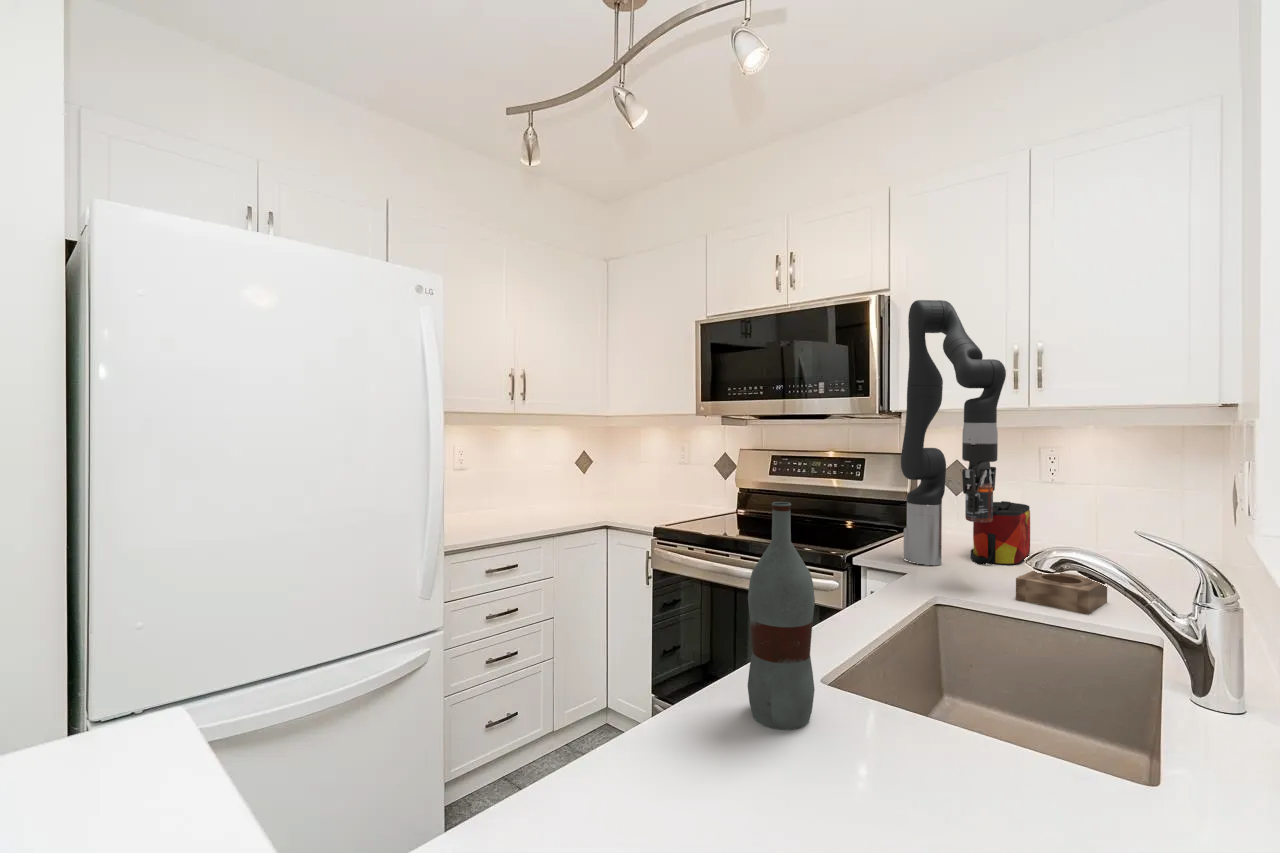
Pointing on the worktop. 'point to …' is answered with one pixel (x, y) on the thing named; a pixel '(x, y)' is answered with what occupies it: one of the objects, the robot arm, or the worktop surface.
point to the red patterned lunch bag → (1003, 536)
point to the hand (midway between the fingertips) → (978, 510)
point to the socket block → (1061, 591)
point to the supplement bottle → (982, 505)
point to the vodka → (781, 631)
